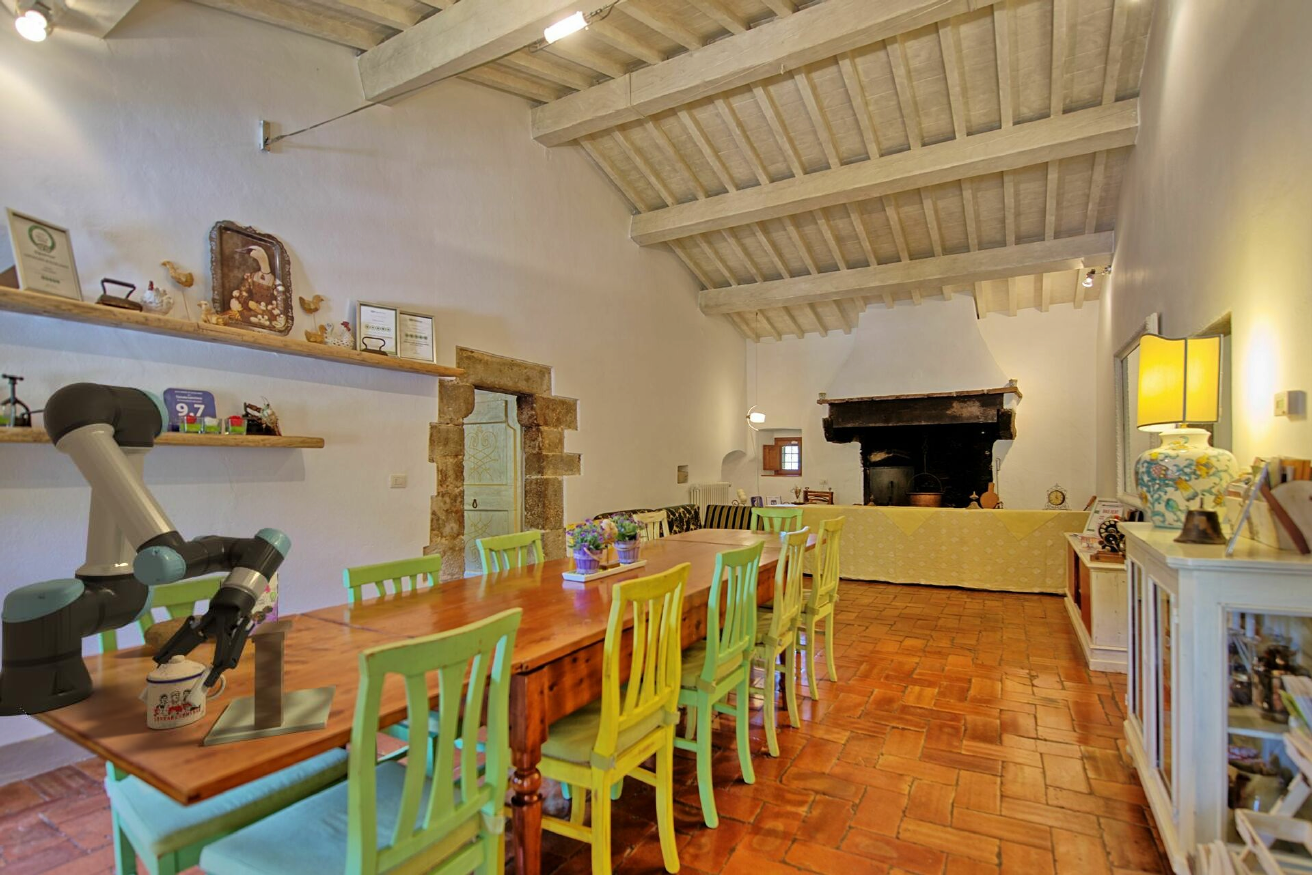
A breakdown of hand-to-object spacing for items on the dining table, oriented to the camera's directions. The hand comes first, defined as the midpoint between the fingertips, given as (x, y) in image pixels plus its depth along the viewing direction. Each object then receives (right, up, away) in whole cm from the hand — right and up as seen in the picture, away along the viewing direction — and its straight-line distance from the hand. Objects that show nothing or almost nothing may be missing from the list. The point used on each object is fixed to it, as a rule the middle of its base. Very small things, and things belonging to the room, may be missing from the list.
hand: (168, 702), depth 116 cm
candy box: (-23, -6, +59) cm, 64 cm away
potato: (-33, -6, +47) cm, 58 cm away
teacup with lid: (+1, -4, +3) cm, 5 cm away
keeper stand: (+18, -4, +3) cm, 18 cm away
